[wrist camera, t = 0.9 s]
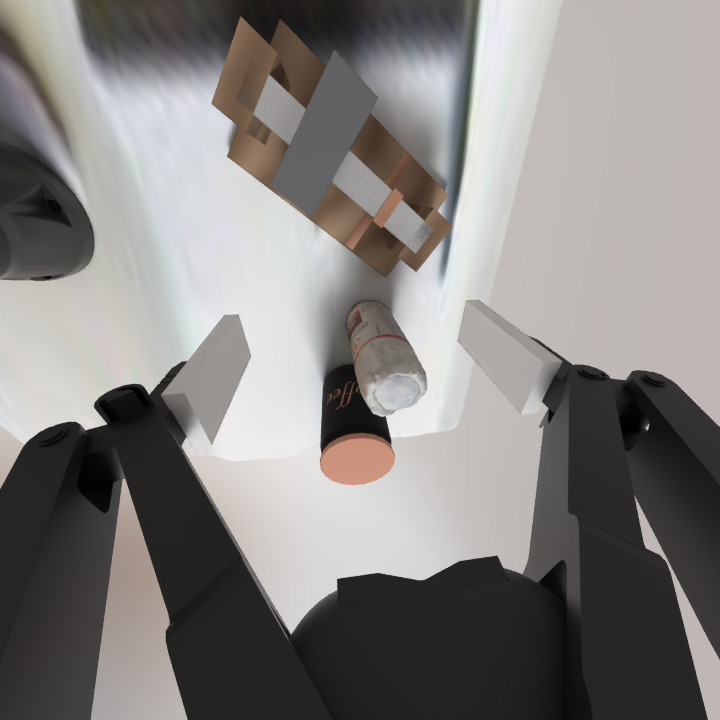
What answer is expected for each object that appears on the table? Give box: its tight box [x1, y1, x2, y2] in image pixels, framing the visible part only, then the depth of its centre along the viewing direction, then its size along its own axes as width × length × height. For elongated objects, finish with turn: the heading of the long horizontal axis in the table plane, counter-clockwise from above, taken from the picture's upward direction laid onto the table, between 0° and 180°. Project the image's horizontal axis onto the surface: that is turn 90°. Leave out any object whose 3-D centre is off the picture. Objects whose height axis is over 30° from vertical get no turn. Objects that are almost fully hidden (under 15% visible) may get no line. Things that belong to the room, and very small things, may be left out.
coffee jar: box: [320, 365, 395, 485], centre depth 44 cm, size 11×11×18 cm
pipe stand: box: [211, 17, 453, 277], centre depth 29 cm, size 24×13×10 cm, turn 54°
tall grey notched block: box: [270, 50, 378, 217], centre depth 25 cm, size 4×10×10 cm, turn 144°
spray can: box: [346, 301, 427, 417], centre depth 36 cm, size 8×8×20 cm
